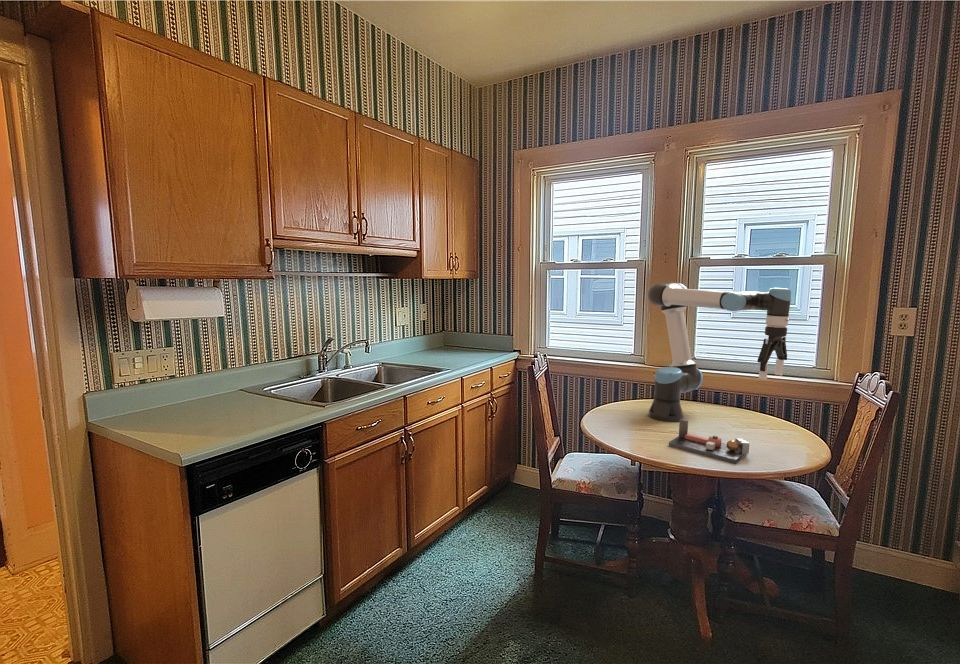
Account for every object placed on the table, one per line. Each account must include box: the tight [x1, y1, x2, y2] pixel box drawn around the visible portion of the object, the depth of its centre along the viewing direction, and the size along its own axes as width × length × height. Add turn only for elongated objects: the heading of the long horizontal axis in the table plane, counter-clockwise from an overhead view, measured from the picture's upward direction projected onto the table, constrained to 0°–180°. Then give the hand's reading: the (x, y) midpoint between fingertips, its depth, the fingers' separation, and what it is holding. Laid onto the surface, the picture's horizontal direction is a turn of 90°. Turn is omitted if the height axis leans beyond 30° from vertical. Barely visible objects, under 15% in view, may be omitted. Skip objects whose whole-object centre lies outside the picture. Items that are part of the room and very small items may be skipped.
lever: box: [678, 418, 722, 450], centre depth 177 cm, size 16×9×7 cm, turn 45°
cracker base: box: [668, 435, 750, 465], centre depth 174 cm, size 26×14×6 cm, turn 45°
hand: (770, 376), depth 187 cm, fingers open, 13 cm apart
